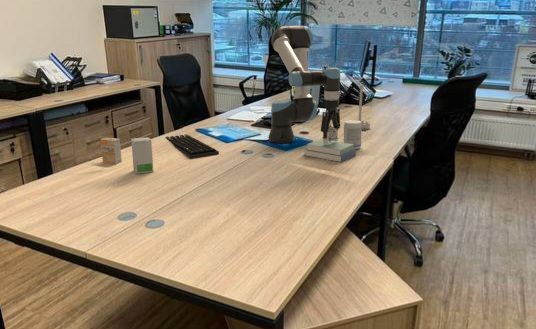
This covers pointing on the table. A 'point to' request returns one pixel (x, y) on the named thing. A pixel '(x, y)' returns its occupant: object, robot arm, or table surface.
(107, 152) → the supplement box
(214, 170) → the table surface
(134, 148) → the skincare box
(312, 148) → the book pile
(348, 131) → the supplement tub
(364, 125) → the flag stand
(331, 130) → the game die
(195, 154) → the computer keyboard
